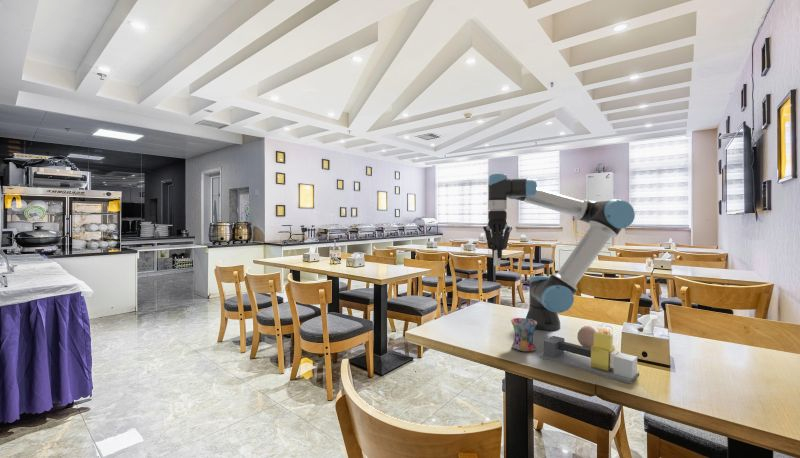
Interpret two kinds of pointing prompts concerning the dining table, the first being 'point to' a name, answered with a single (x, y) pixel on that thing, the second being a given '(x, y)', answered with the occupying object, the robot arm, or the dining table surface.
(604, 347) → the yellow block
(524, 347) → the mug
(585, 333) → the egg
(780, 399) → the dining table surface
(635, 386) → the dining table surface
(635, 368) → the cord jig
